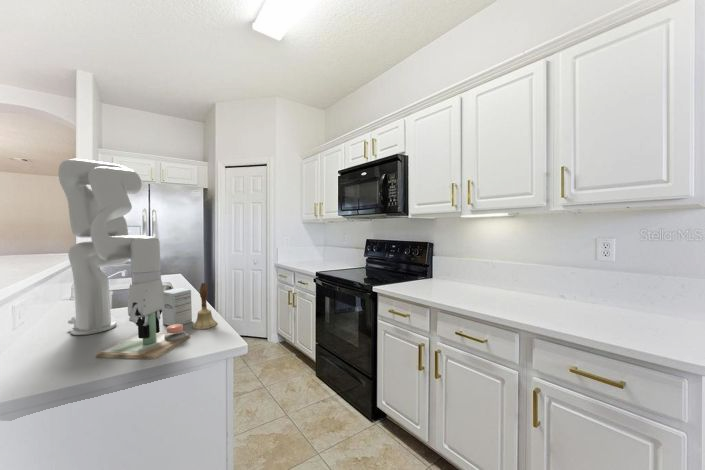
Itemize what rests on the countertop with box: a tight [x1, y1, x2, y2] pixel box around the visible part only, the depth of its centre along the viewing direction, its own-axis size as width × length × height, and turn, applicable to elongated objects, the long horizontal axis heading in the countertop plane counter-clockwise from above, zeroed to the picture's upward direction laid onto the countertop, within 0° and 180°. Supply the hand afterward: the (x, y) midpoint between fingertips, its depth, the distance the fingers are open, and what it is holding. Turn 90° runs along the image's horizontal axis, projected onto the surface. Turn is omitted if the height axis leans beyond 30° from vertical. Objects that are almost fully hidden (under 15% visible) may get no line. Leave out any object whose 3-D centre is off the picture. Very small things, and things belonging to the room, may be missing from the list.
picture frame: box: [95, 330, 191, 360], centre depth 95 cm, size 18×16×2 cm
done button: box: [166, 324, 184, 333], centre depth 99 cm, size 5×5×1 cm
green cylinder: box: [141, 312, 157, 344], centre depth 94 cm, size 4×4×11 cm
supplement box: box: [161, 287, 193, 326], centre depth 116 cm, size 7×7×13 cm
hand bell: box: [192, 282, 218, 330], centre depth 113 cm, size 8×8×16 cm
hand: (149, 334), depth 95 cm, fingers closed on green cylinder, 3 cm apart
